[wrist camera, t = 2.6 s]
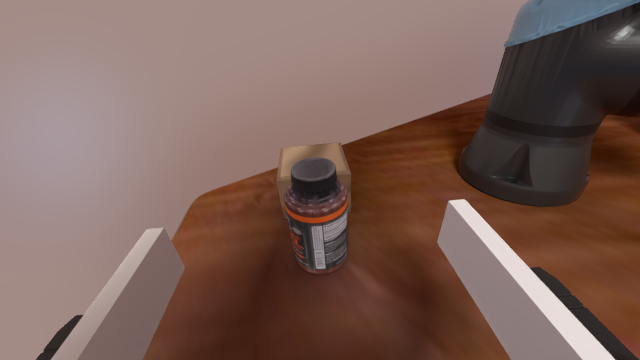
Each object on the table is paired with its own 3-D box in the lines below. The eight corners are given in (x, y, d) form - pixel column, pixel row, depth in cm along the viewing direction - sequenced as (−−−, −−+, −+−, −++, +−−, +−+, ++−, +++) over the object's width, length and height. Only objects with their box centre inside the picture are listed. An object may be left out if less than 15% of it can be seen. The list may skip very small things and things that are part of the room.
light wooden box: (341, 176, 41) (340, 140, 37) (351, 211, 33) (351, 171, 30) (286, 181, 41) (280, 146, 37) (283, 218, 33) (275, 179, 30)
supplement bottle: (287, 246, 29) (269, 161, 23) (331, 227, 31) (326, 145, 25) (308, 287, 24) (293, 194, 18) (359, 262, 27) (361, 171, 20)
